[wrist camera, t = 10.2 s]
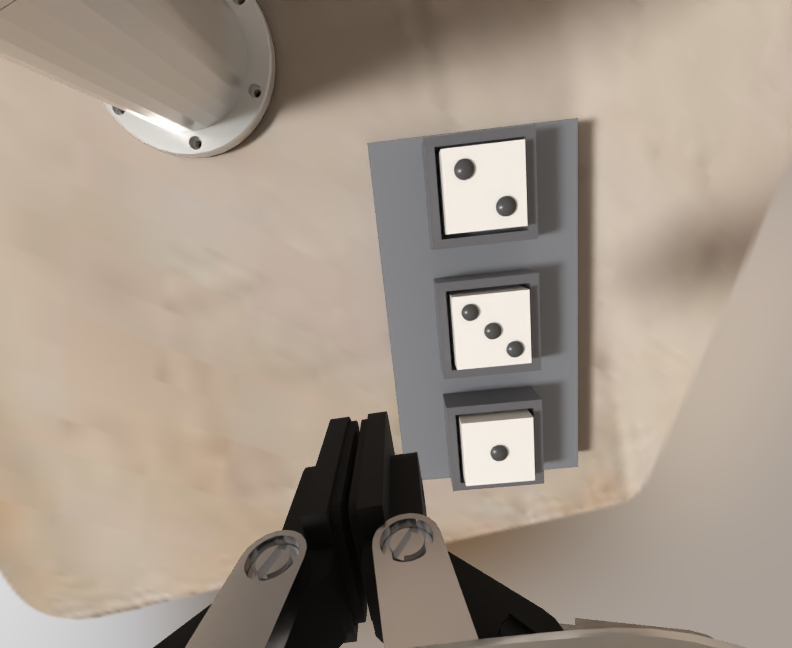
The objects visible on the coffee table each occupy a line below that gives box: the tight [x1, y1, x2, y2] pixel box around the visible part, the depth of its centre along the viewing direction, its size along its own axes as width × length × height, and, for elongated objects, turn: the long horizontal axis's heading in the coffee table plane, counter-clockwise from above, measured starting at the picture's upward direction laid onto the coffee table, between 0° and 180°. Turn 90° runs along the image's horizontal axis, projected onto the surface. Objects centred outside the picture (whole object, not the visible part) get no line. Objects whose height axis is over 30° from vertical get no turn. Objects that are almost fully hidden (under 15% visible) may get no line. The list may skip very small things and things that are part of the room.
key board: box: [368, 118, 578, 491], centre depth 29 cm, size 26×14×4 cm, turn 6°
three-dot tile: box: [447, 284, 532, 370], centre depth 27 cm, size 5×5×3 cm
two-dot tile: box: [436, 139, 528, 235], centre depth 25 cm, size 5×5×3 cm
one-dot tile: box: [456, 409, 535, 486], centre depth 29 cm, size 5×5×3 cm
